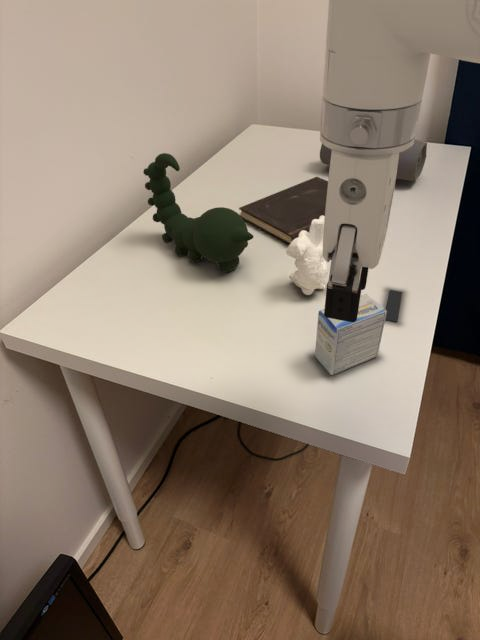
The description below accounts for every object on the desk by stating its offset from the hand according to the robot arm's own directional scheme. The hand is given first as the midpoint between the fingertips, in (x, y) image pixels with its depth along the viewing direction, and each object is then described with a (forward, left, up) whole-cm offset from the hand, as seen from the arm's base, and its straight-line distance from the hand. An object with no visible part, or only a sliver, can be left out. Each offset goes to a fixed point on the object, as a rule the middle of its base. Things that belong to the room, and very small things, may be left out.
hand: (345, 300), depth 50 cm
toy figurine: (+30, -29, -18) cm, 45 cm away
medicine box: (0, -10, -18) cm, 20 cm away
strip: (-5, -24, -17) cm, 30 cm away
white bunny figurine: (+9, -25, -18) cm, 32 cm away
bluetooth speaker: (+6, -74, -18) cm, 76 cm away
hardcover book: (+16, -51, -18) cm, 56 cm away
